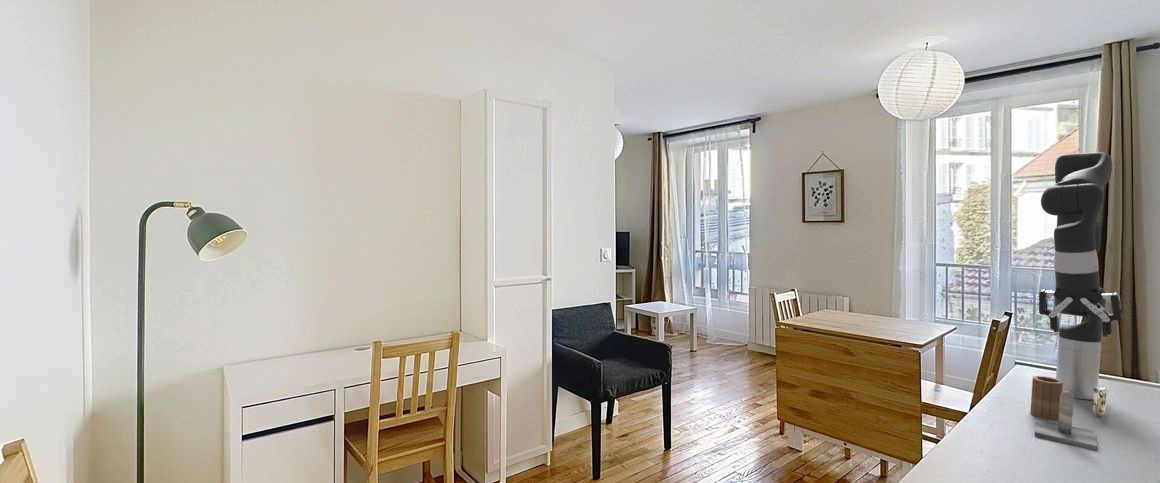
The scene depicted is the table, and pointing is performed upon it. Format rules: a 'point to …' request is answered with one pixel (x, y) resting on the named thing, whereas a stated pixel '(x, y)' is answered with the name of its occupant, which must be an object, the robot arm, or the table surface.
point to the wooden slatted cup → (1046, 397)
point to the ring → (1100, 400)
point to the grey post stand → (1066, 426)
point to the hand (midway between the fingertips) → (1080, 333)
